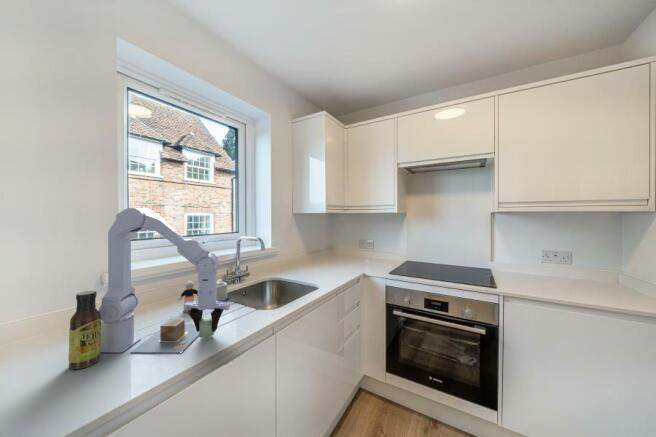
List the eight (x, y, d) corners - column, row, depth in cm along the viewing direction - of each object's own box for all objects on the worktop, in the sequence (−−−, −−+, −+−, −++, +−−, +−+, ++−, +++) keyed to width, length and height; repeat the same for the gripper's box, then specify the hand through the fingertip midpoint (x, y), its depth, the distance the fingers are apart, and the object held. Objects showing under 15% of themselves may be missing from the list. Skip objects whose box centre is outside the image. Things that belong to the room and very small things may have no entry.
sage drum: (196, 337, 80) (196, 322, 80) (203, 331, 85) (203, 316, 85) (210, 338, 80) (210, 323, 80) (216, 331, 85) (216, 317, 85)
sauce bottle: (81, 372, 64) (80, 297, 64) (62, 369, 65) (61, 295, 65) (107, 358, 71) (106, 289, 70) (88, 355, 72) (88, 288, 71)
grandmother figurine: (182, 314, 101) (182, 283, 101) (178, 311, 103) (178, 282, 103) (201, 308, 107) (201, 279, 107) (196, 306, 109) (197, 278, 109)
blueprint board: (130, 353, 73) (130, 351, 73) (168, 325, 91) (168, 323, 91) (181, 353, 74) (181, 351, 74) (208, 325, 92) (208, 324, 92)
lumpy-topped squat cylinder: (210, 304, 112) (210, 285, 112) (194, 298, 119) (194, 281, 119) (230, 298, 121) (230, 280, 120) (214, 292, 128) (214, 276, 127)
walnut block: (160, 341, 79) (160, 326, 79) (170, 333, 84) (170, 319, 84) (176, 341, 79) (176, 326, 79) (184, 333, 84) (184, 319, 84)
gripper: (178, 294, 78) (178, 336, 78) (224, 294, 78) (223, 336, 79) (190, 287, 85) (190, 325, 85) (232, 288, 85) (231, 326, 86)
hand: (206, 330), depth 83 cm, fingers closed on sage drum, 5 cm apart
